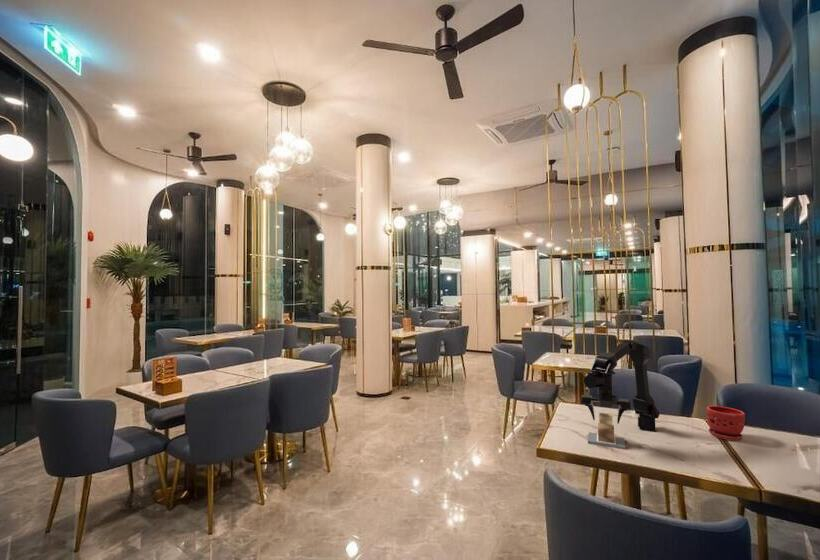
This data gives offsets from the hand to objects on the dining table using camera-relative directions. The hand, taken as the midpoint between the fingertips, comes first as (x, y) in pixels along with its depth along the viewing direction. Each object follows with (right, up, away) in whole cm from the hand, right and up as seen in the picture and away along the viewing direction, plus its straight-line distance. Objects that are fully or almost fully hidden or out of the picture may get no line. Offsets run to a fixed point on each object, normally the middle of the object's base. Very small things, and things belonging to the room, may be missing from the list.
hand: (605, 421), depth 166 cm
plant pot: (+55, -8, +4) cm, 56 cm away
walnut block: (0, -7, 0) cm, 7 cm away
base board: (0, -9, 0) cm, 8 cm away
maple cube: (0, -2, 0) cm, 2 cm away
